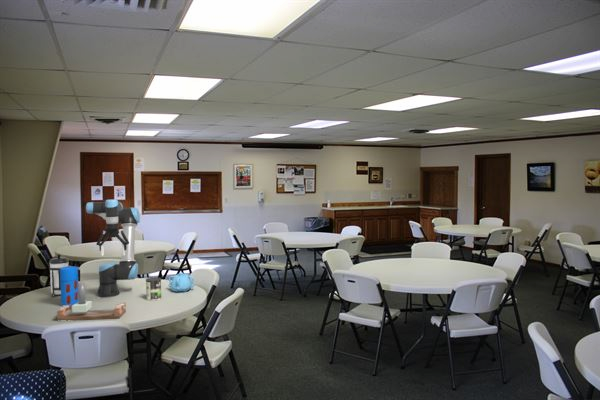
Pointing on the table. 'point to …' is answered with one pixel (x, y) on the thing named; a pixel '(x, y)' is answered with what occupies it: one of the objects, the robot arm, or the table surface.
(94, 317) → the rail board
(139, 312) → the table surface
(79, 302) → the carriage
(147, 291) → the coffee can
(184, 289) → the decorative pot
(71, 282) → the thermos
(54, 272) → the coffee press
